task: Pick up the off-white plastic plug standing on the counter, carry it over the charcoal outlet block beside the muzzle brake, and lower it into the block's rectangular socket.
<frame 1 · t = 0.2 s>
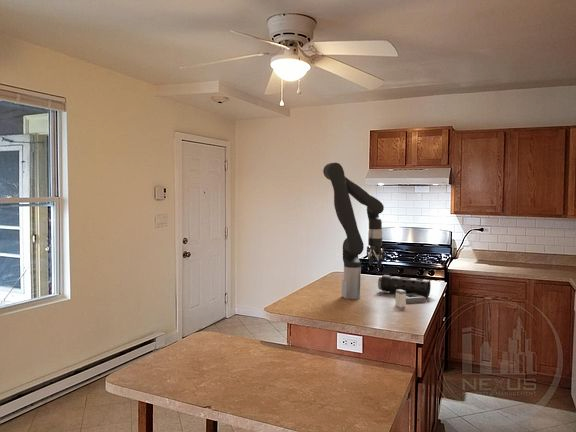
hand: (375, 266, 240), 17 cm above the table, tool pointing down, fingers open, 8 cm apart
outlet block: (410, 300, 234), on the table
muzzle brake: (403, 295, 248), on the table
plug: (400, 305, 222), on the table
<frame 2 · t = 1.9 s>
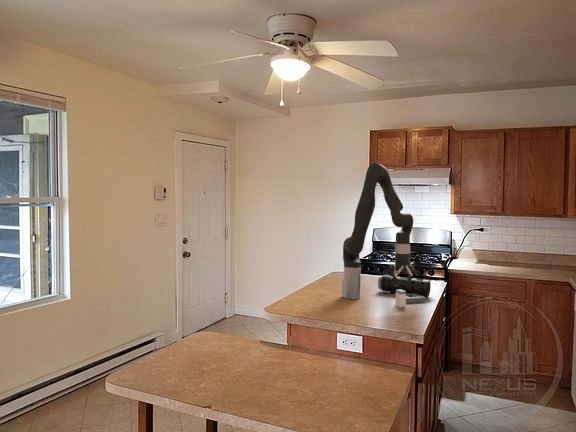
hand: (402, 283, 222), 11 cm above the table, tool pointing down, fingers open, 8 cm apart
nothing on the table moved.
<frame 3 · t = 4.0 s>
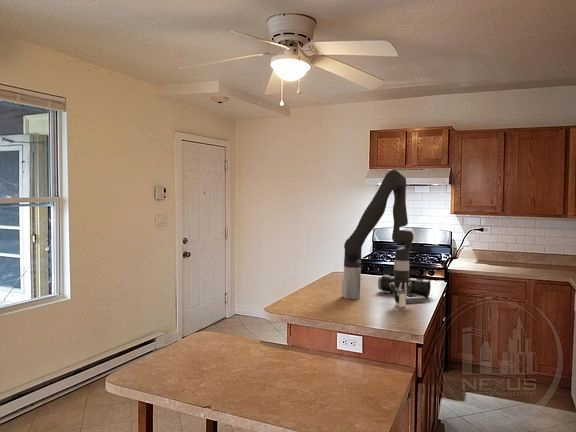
hand: (400, 302, 222), 2 cm above the table, tool pointing down, fingers closed on plug, 3 cm apart
plug: (400, 305, 222), on the table, touching gripper
everything else where it was.
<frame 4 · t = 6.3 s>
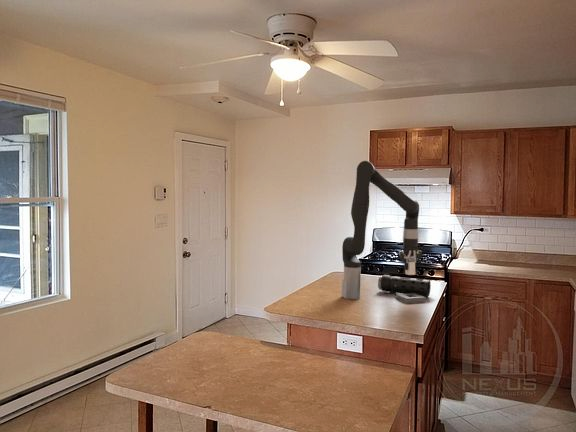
hand: (409, 269, 230), 17 cm above the table, tool pointing down, fingers closed on plug, 3 cm apart
plug: (410, 274, 229), point 15 cm above the table, tilted 6°, touching gripper
everything else where it was.
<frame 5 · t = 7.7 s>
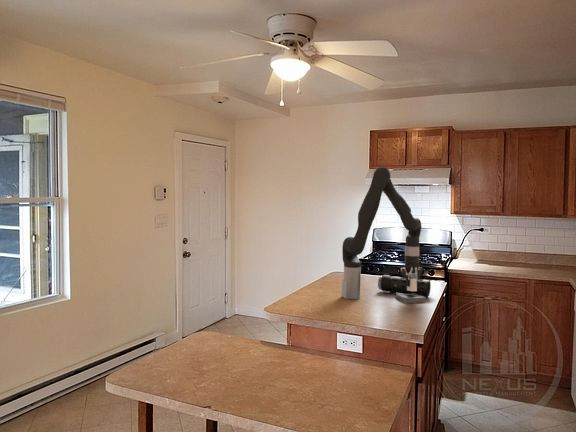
hand: (411, 286, 234), 8 cm above the table, tool pointing down, fingers closed on plug, 3 cm apart
plug: (411, 290, 234), point 5 cm above the table, tilted 6°, touching gripper
everything else where it was.
when the fingers open (3 cm above the table, at t = 8.9 s): plug moves 1 cm, on the table.
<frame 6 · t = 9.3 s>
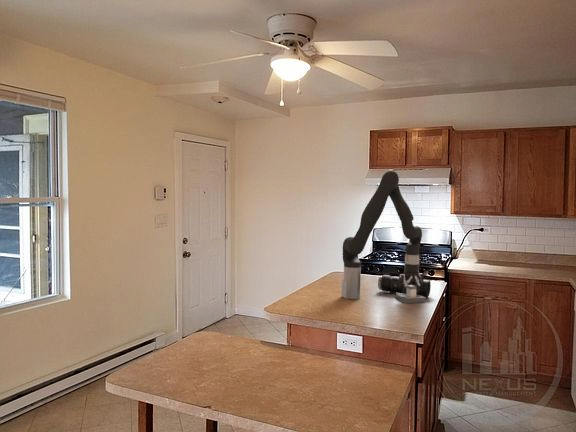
hand: (410, 293, 234), 4 cm above the table, tool pointing down, fingers open, 7 cm apart
plug: (411, 300, 234), on the table
everything else where it was.
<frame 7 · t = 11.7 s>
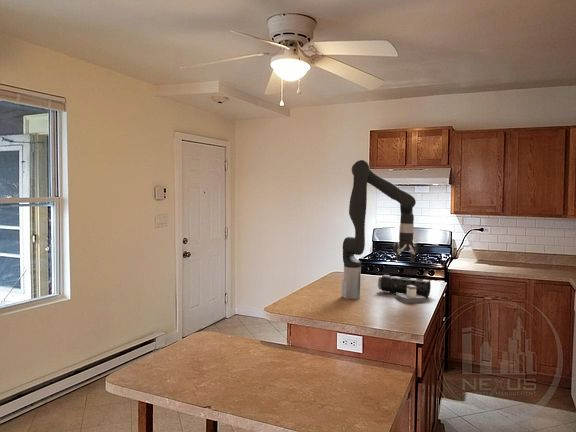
hand: (405, 261, 238), 21 cm above the table, tool pointing down, fingers open, 8 cm apart
nothing on the table moved.
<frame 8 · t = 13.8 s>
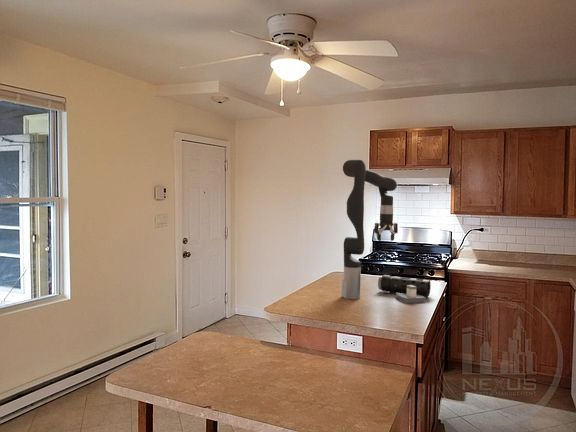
hand: (385, 240, 254), 30 cm above the table, tool pointing down, fingers open, 8 cm apart
nothing on the table moved.
at the end: plug 0.4 cm off-centre on the outlet block, point 0.0 cm above the outlet block's base; plug tilted 0°; the gripper is holding nothing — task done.
